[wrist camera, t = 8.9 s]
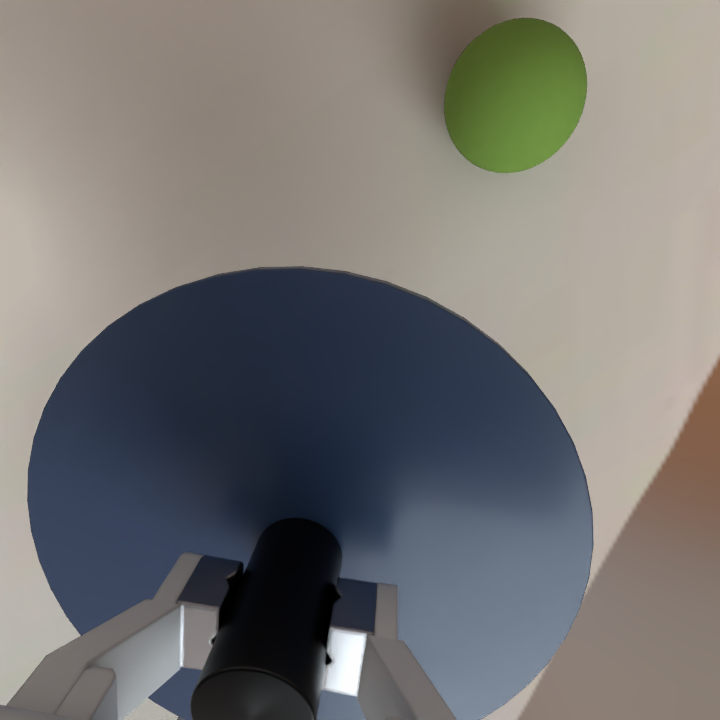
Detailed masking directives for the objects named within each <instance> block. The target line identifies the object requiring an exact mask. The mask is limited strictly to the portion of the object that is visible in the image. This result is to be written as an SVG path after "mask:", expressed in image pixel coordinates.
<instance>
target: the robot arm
mask: <svg viewBox="0 0 720 720" xmlns="http://www.w3.org/2000/svg"><path fill="white" fill-rule="evenodd" d="M243 574H244V563H243V562H241V561H236V560H231V559H225V558H220V557H214V556H209V555H201V554H196V553H190V552H184V553H183V554H182V555H180V557H179V558H178V560H177V561H176V563H175V565H174V566H173V568H172V569H171V571H170V572H169V574H168V575H167V577H166V579H165V580H164V582H163V583H162V585H161V586H160V588H159V590H158V591H157V593H156V594H155V596H154V597H153V599H152V600H151V599H145V600H143V601H141V602H140V603H138V604H136V605H134V606H133V607H131V608H129V609H127V610H126V611H124V612H122V613H120V614H119V615H117V616H115V617H113V618H112V619H110V620H108V621H106V622H105V623H103V624H101V625H99V626H97V627H96V628H94V629H92V630H90V631H89V632H87V633H85V634H83V635H82V636H80V637H78V638H76V639H75V640H73V641H71V642H69V643H68V644H66V645H64V646H62V647H61V648H59V649H57V650H55V651H53V652H52V653H50V654H48V655H46V657H45V658H44V659H43V660H42V662H41V663H40V664H39V665H38V667H37V668H36V669H35V670H34V672H33V673H32V674H31V675H30V677H29V678H28V679H27V680H26V682H25V683H24V684H23V685H22V686H21V688H20V689H19V690H18V691H17V693H16V694H15V695H14V696H13V698H12V699H11V700H10V701H9V703H8V704H7V705H6V706H4V705H0V720H123V719H124V718H125V717H126V716H127V715H128V714H129V713H131V712H132V711H133V710H134V709H135V708H136V707H137V706H139V705H140V704H141V703H142V702H143V701H144V700H146V699H147V698H148V697H149V696H150V695H151V694H152V693H154V692H155V691H156V690H157V689H158V688H159V687H160V686H162V685H163V684H164V683H165V682H166V681H167V680H168V679H170V678H171V677H172V676H173V675H174V674H175V673H176V672H178V671H179V670H180V667H184V668H191V669H199V670H202V669H203V667H204V665H205V662H206V660H207V658H208V655H209V653H210V651H211V648H212V646H213V644H214V642H215V639H216V637H217V635H218V632H219V630H220V628H221V625H222V623H223V621H224V618H225V616H226V614H227V611H228V609H229V607H230V604H231V602H232V600H233V597H234V595H235V593H236V590H237V588H238V586H239V583H240V581H241V579H242V576H243ZM326 652H327V659H326V665H325V671H324V677H323V683H322V689H321V690H326V691H331V692H336V693H341V694H346V695H351V696H356V697H357V700H358V702H359V704H360V707H361V709H362V712H363V714H364V716H365V719H366V720H457V719H456V717H455V716H454V715H453V713H452V712H451V710H450V709H449V707H448V706H447V704H446V703H445V701H444V700H443V698H442V697H441V695H440V694H439V692H438V691H437V689H436V688H435V686H434V685H433V683H432V682H431V680H430V679H429V677H428V676H427V674H426V673H425V671H424V670H423V669H422V667H421V666H420V664H419V663H418V661H417V660H416V658H415V657H414V655H413V654H412V652H411V651H410V649H409V648H408V646H407V645H406V643H405V642H404V641H402V640H398V587H397V585H392V584H385V583H378V582H377V583H376V582H369V581H363V580H356V579H349V578H343V577H338V579H337V585H336V591H335V598H334V603H333V609H332V615H331V621H330V627H329V634H328V641H327V648H326Z"/></svg>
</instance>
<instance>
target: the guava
mask: <svg viewBox="0 0 720 720" xmlns="http://www.w3.org/2000/svg"><path fill="white" fill-rule="evenodd" d="M586 92H587V75H586V69H585V64H584V61H583V58H582V55H581V53H580V51H579V49H578V47H577V46H576V44H575V43H574V41H573V40H572V39H571V38H570V37H569V36H568V35H567V34H566V33H565V32H564V31H563V30H561V29H560V28H559V27H557V26H555V25H553V24H552V23H549V22H546V21H544V20H539V19H533V18H519V19H512V20H508V21H504V22H502V23H499V24H497V25H495V26H493V27H491V28H489V29H488V30H486V31H484V32H483V33H482V34H480V35H479V36H478V37H476V38H475V39H474V40H473V41H472V42H471V43H470V44H469V45H468V46H467V48H466V49H465V50H464V51H463V53H462V54H461V55H460V57H459V59H458V60H457V62H456V63H455V65H454V67H453V70H452V72H451V74H450V77H449V80H448V83H447V87H446V92H445V101H444V115H445V122H446V126H447V129H448V132H449V135H450V137H451V140H452V141H453V143H454V145H455V146H456V148H457V149H458V150H459V152H460V153H461V154H462V155H463V156H464V157H465V158H466V159H467V160H469V161H470V162H471V163H473V164H474V165H476V166H478V167H480V168H482V169H485V170H488V171H492V172H499V173H511V172H518V171H523V170H526V169H529V168H532V167H534V166H536V165H538V164H540V163H542V162H543V161H545V160H546V159H548V158H549V157H551V156H552V155H553V154H554V153H556V152H557V151H558V150H559V149H560V148H561V147H562V146H563V145H564V143H565V142H566V141H567V140H568V138H569V137H570V135H571V134H572V133H573V131H574V129H575V127H576V126H577V124H578V122H579V119H580V117H581V115H582V111H583V108H584V104H585V99H586Z"/></svg>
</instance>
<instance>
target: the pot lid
mask: <svg viewBox="0 0 720 720" xmlns="http://www.w3.org/2000/svg"><path fill="white" fill-rule="evenodd" d="M27 501H28V509H29V517H30V525H31V532H32V536H33V540H34V543H35V547H36V551H37V554H38V558H39V561H40V564H41V566H42V569H43V571H44V573H45V576H46V578H47V581H48V583H49V585H50V588H51V590H52V592H53V593H54V595H55V597H56V599H57V600H58V602H59V604H60V606H61V607H62V609H63V611H64V613H65V614H66V616H67V618H68V619H69V620H70V622H71V623H72V624H73V626H74V627H75V628H76V630H77V631H78V632H79V634H80V635H81V636H82V635H83V634H85V633H87V632H89V631H90V630H92V629H94V628H96V627H97V626H99V625H101V624H103V623H105V622H106V621H108V620H110V619H112V618H113V617H115V616H117V615H119V614H120V613H122V612H124V611H126V610H127V609H129V608H131V607H133V606H134V605H136V604H138V603H140V602H141V601H143V600H145V599H151V600H152V599H153V597H154V596H155V594H156V593H157V591H158V590H159V588H160V586H161V585H162V583H163V582H164V580H165V579H166V577H167V575H168V574H169V572H170V571H171V569H172V568H173V566H174V565H175V563H176V561H177V560H178V558H179V557H180V555H182V554H183V553H184V552H190V553H196V554H201V555H209V556H214V557H220V558H225V559H231V560H236V561H241V562H243V563H244V574H243V576H242V579H241V581H240V583H239V586H238V588H237V590H236V593H235V595H234V597H233V600H232V602H231V604H230V607H229V609H228V611H227V614H226V616H225V618H224V621H223V623H222V625H221V628H220V630H219V632H218V635H217V637H216V639H215V642H214V644H213V646H212V648H211V651H210V653H209V655H208V658H207V660H206V662H205V665H204V667H203V669H202V670H199V669H191V668H184V667H180V670H179V671H178V672H176V673H175V674H174V675H173V676H172V677H171V678H170V679H168V680H167V681H166V682H165V683H164V684H163V685H162V686H160V687H159V688H158V689H157V690H156V691H155V692H154V693H152V694H151V695H150V696H149V697H148V698H149V699H150V700H152V701H153V702H155V703H156V704H158V705H160V706H162V707H163V708H165V709H167V710H169V711H170V712H172V713H174V714H175V715H177V716H179V717H181V718H183V719H185V720H366V719H365V716H364V714H363V712H362V709H361V707H360V704H359V702H358V700H357V697H356V696H351V695H346V694H341V693H336V692H331V691H326V690H321V689H322V683H323V677H324V671H325V665H326V659H327V652H326V648H327V641H328V634H329V627H330V621H331V615H332V609H333V603H334V598H335V591H336V585H337V579H338V577H343V578H349V579H356V580H363V581H369V582H376V583H377V582H378V583H385V584H392V585H397V587H398V640H402V641H404V642H405V643H406V645H407V646H408V648H409V649H410V651H411V652H412V654H413V655H414V657H415V658H416V660H417V661H418V663H419V664H420V666H421V667H422V669H423V670H424V671H425V673H426V674H427V676H428V677H429V679H430V680H431V682H432V683H433V685H434V686H435V688H436V689H437V691H438V692H439V694H440V695H441V697H442V698H443V700H444V701H445V703H446V704H447V706H448V707H449V709H450V710H451V712H452V713H453V715H454V716H455V717H456V719H457V720H481V719H482V718H484V717H486V716H487V715H489V714H490V713H492V712H493V711H495V710H496V709H498V708H500V707H501V706H503V705H504V704H506V703H507V702H508V701H509V700H510V699H512V698H513V697H514V696H515V695H516V694H518V693H519V692H520V691H521V690H522V689H524V688H525V687H526V686H527V685H528V684H529V683H530V682H531V681H532V680H533V679H534V678H535V677H536V676H537V675H538V673H539V672H540V671H541V670H542V669H543V668H544V667H545V666H546V665H547V664H548V663H549V661H550V660H551V658H552V657H553V655H554V654H555V652H556V651H557V649H558V648H559V647H560V645H561V644H562V642H563V641H564V639H565V638H566V636H567V634H568V632H569V630H570V628H571V626H572V624H573V622H574V620H575V617H576V615H577V613H578V611H579V609H580V606H581V603H582V600H583V596H584V593H585V590H586V586H587V583H588V580H589V574H590V566H591V559H592V551H593V516H592V507H591V501H590V496H589V491H588V486H587V480H586V476H585V473H584V470H583V468H582V465H581V462H580V459H579V456H578V454H577V451H576V448H575V445H574V443H573V441H572V439H571V437H570V435H569V433H568V431H567V430H566V428H565V426H564V424H563V422H562V420H561V419H560V417H559V415H558V413H557V411H556V409H555V408H554V407H553V405H552V404H551V403H550V401H549V400H548V399H547V397H546V396H545V395H544V393H543V392H542V391H541V389H540V388H539V387H538V385H537V384H536V383H535V381H534V380H533V379H532V377H531V376H530V375H529V374H528V372H527V371H526V370H525V369H524V368H523V367H522V366H521V365H520V364H519V363H518V362H517V361H516V360H515V359H514V358H513V357H512V356H511V355H510V354H509V353H508V352H507V351H506V350H505V349H504V348H503V347H502V346H501V345H500V344H499V343H497V342H496V341H495V340H493V339H492V338H491V337H489V336H488V335H487V334H485V333H484V332H483V331H481V330H480V329H479V328H477V327H476V326H475V325H473V324H472V323H471V322H469V321H468V320H467V319H465V318H464V317H462V316H460V315H458V314H456V313H455V312H453V311H451V310H449V309H447V308H446V307H444V306H442V305H440V304H438V303H437V302H435V301H433V300H431V299H429V298H428V297H425V296H423V295H420V294H418V293H415V292H413V291H410V290H407V289H405V288H402V287H400V286H397V285H395V284H392V283H390V282H387V281H383V280H379V279H375V278H371V277H367V276H363V275H359V274H355V273H351V272H347V271H340V270H331V269H322V268H313V267H304V266H294V267H259V268H252V269H246V270H240V271H234V272H227V273H221V274H217V275H214V276H211V277H207V278H204V279H201V280H198V281H194V282H191V283H188V284H185V285H182V286H179V287H176V288H173V289H171V290H169V291H167V292H165V293H163V294H161V295H159V296H156V297H154V298H152V299H150V300H148V301H146V302H144V303H142V304H140V305H138V306H137V307H135V308H134V309H132V310H131V311H129V312H128V313H126V314H125V315H123V316H122V317H120V318H119V319H117V320H116V321H114V322H113V323H112V324H110V325H109V326H107V327H106V328H105V329H104V330H103V331H102V332H101V333H100V334H99V335H98V336H97V337H96V338H95V339H93V340H92V341H91V342H90V343H89V344H88V345H87V346H86V347H85V348H84V349H83V350H82V351H81V352H80V353H79V355H78V356H77V357H76V359H75V360H74V361H73V362H72V364H71V365H70V366H69V368H68V369H67V370H66V371H65V373H64V374H63V375H62V377H61V378H60V380H59V382H58V384H57V385H56V387H55V389H54V391H53V393H52V395H51V396H50V398H49V400H48V402H47V404H46V406H45V408H44V410H43V413H42V416H41V419H40V422H39V425H38V427H37V430H36V433H35V436H34V439H33V445H32V451H31V456H30V462H29V467H28V497H27Z"/></svg>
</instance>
